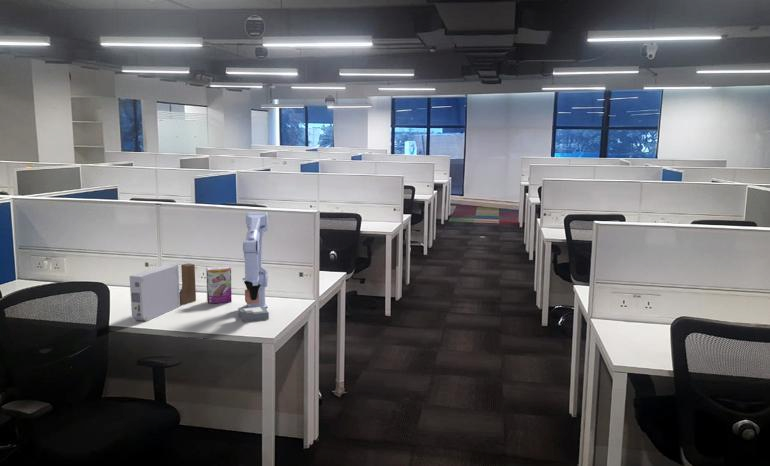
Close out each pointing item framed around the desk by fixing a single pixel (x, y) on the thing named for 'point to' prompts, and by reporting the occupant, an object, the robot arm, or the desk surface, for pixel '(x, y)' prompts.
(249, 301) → the salmon brown cube
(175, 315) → the desk surface
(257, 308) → the grey square frame
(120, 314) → the desk surface
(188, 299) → the wooden block
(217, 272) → the candy bar box
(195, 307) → the desk surface
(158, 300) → the game console
